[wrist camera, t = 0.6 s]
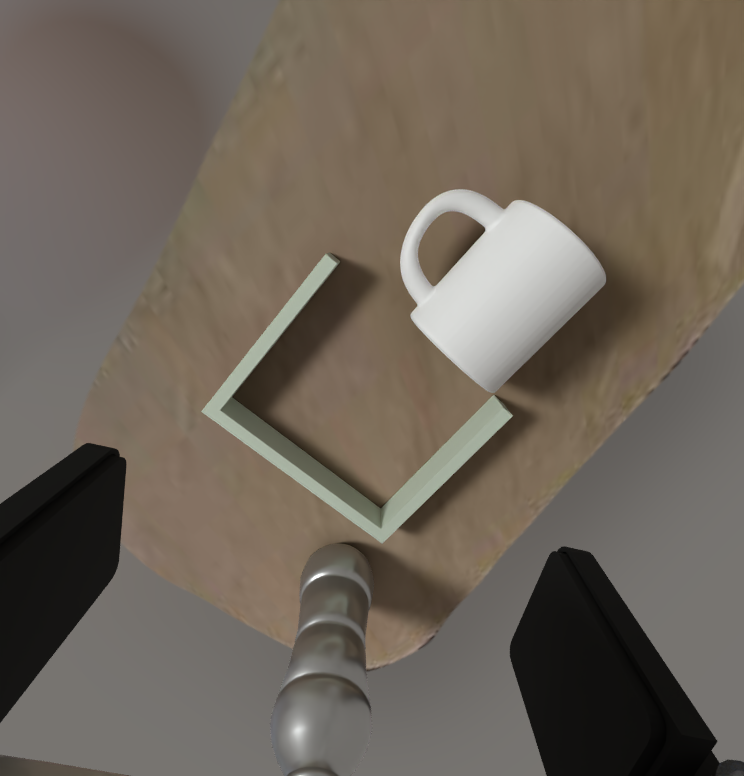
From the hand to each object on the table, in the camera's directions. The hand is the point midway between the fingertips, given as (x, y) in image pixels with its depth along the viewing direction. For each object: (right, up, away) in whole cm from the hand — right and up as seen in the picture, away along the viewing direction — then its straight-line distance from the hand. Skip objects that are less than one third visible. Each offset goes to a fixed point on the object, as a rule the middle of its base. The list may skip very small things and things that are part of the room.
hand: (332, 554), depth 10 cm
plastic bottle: (-2, -13, +33) cm, 35 cm away
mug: (+8, +12, +24) cm, 29 cm away
